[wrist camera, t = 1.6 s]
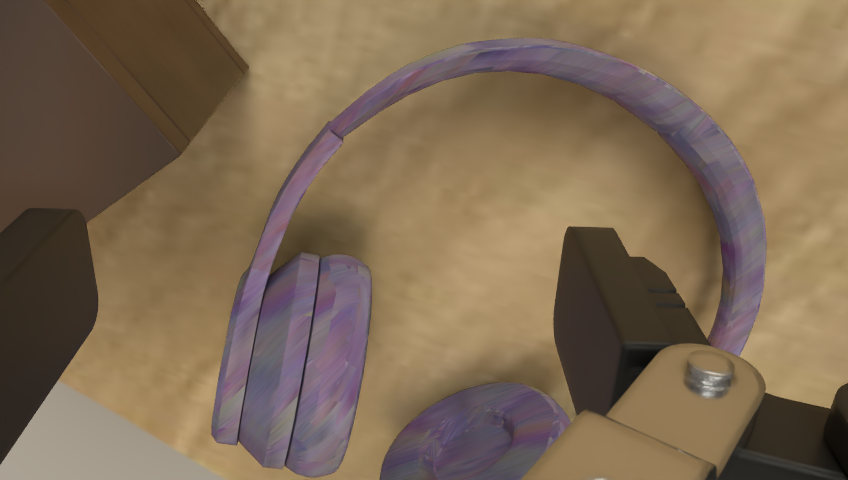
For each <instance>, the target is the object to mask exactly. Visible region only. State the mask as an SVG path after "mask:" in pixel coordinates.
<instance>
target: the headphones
mask: <svg viewBox="0 0 848 480" xmlns="http://www.w3.org/2000/svg"><path fill="white" fill-rule="evenodd" d="M502 71H514V72H525V73H537V74H544V75H547V76H551V77H554V78H558V79H562V80H565V81H569V82H572V83H576V84H580V85H582V86H584V87H586V88H588V89H590V90H592V91H594V92H597V93H599V94H601V95H603V96H605V97H607V98H609V99H612V100H614V101H615V102H617V103H618V104H619V105H621V106H622V107H624V108H625V109H626V110H628V111H629V112H630V113H632V114H633V115H634V116H636V117H637V118H639V119H640V120H641V121H643V122H644V123H645V124H647V125H648V126H650V127H651V128H652V129H654V130H655V131H657V132H658V134H659V135H660V136H661V137H662V138H663V139H664V140H665V141H666V143H667V144H668V145H669V146H670V147H671V148H672V149H673V150H674V151H675V153H676V154H677V155H678V156H679V157H680V158H681V159H682V160H683V161H684V163H685V164H686V166H687V167H688V168H689V170H690V171H691V173H692V174H693V175H694V177H695V178H696V180H697V181H698V182H699V184H700V187H701V189H702V191H703V193H704V195H705V197H706V199H707V201H708V203H709V206H710V208H711V210H712V212H713V214H714V218H715V221H716V225H717V229H718V232H719V236H720V244H721V254H722V264H723V276H722V288H721V299H720V303H719V307H718V311H717V314H716V318H715V322H714V325H713V327H712V330H711V332H710V335H709V338H708V342H709V343H710V345H711V346H712V347H716V348H720V349H723V350H726V351H728V352H730V353H733V354H735V355H737V356H740V354H741V352H742V350H743V348H744V346H745V343H746V341H747V339H748V337H749V335H750V332H751V329H752V327H753V324H754V321H755V319H756V316H757V314H758V311H759V306H760V301H761V297H762V292H763V287H764V275H765V262H766V249H767V242H766V231H765V220H764V215H763V212H762V208H761V205H760V201H759V198H758V194H757V191H756V187H755V184H754V180H753V178H752V176H751V174H750V172H749V170H748V168H747V166H746V164H745V162H744V160H743V158H742V157H741V155H740V154H739V152H738V150H737V149H736V148H735V146H734V145H733V143H732V142H731V140H730V139H729V138H728V136H727V135H726V134H725V133H724V132H723V131H722V130H721V128H720V127H719V126H718V125H717V124H716V123H715V122H714V121H713V120H712V119H711V118H710V116H709V115H708V114H707V113H705V112H704V111H703V110H702V109H701V108H700V107H699V106H698V105H697V104H695V103H694V102H693V101H692V100H690V99H689V98H688V97H687V96H685V95H684V94H683V93H682V92H680V91H679V90H678V89H677V88H675V87H674V86H672V85H670V84H669V83H667V82H666V81H664V80H663V79H661V78H659V77H658V76H656V75H654V74H652V73H650V72H648V71H646V70H645V69H643V68H641V67H638V66H636V65H634V64H631V63H629V62H626V61H624V60H621V59H619V58H616V57H614V56H611V55H609V54H606V53H603V52H600V51H597V50H594V49H590V48H587V47H583V46H580V45H576V44H572V43H567V42H563V41H558V40H553V39H543V38H509V39H497V40H487V41H478V42H471V43H466V44H461V45H457V46H454V47H451V48H447V49H444V50H441V51H438V52H436V53H433V54H431V55H428V56H426V57H423V58H421V59H419V60H417V61H414V62H412V63H410V64H408V65H406V66H404V67H403V68H401V69H399V70H397V71H396V72H394V73H392V74H391V75H389V76H388V77H386V78H385V79H384V80H382V81H381V82H379V83H378V84H376V85H375V86H374V87H372V88H371V89H369V90H368V91H367V92H365V93H364V94H363V95H362V96H361V97H359V98H358V99H357V100H356V101H355V102H354V103H352V104H351V105H350V106H349V107H348V108H346V109H345V110H344V111H343V112H342V113H340V114H339V115H338V116H337V117H336V118H335V119H333V120H332V121H331V122H330V121H329V122H328V123H327V124H326V125H325V127H324V128H323V129H322V130H321V131H320V133H319V134H318V135H317V136H316V138H315V139H314V140H313V141H312V142H311V144H310V145H309V146H308V147H307V149H306V150H305V152H304V153H303V155H302V156H301V157H300V159H299V160H298V162H297V163H296V165H295V166H294V168H293V169H292V171H291V172H290V174H289V175H288V177H287V178H286V180H285V182H284V184H283V186H282V187H281V189H280V191H279V193H278V195H277V197H276V199H275V201H274V203H273V206H272V208H271V210H270V213H269V216H268V219H267V221H266V224H265V227H264V230H263V233H262V235H261V238H260V241H259V244H258V246H257V249H256V252H255V254H254V257H253V260H252V262H251V264H250V266H249V268H248V269H247V270H246V271H245V272H244V273H243V275H242V276H241V279H240V282H239V285H238V288H237V292H236V296H235V300H234V304H233V308H232V312H231V317H230V322H229V327H228V332H227V337H226V342H225V347H224V352H223V357H222V363H221V368H220V373H219V378H218V384H217V391H216V398H215V404H214V411H213V418H212V436H213V438H214V439H215V441H216V442H217V443H222V444H229V445H237V443H238V439H239V442H240V443H241V444H242V445H243V446H244V447H245V448H246V449H247V451H248V452H249V453H250V454H251V455H252V456H253V457H254V458H255V459H256V460H257V461H258V462H259V463H260V464H261V465H262V466H263V467H267V468H276V469H283V467H284V463H285V466H286V467H287V468H289V469H290V470H291V471H293V472H294V473H296V474H299V475H302V476H305V477H320V476H325V475H328V474H331V473H333V472H335V471H336V470H337V469H338V468H339V466H340V464H341V462H342V460H343V457H344V455H345V452H346V449H347V446H348V442H349V439H350V435H351V431H352V427H353V424H354V419H355V414H356V409H357V404H358V399H359V394H360V388H361V383H362V377H363V372H364V366H365V359H366V351H367V343H368V335H369V327H370V318H371V303H372V279H371V273H370V270H369V268H368V266H367V265H365V264H364V263H363V262H361V261H360V260H358V259H356V258H354V257H352V256H349V255H345V254H334V255H329V256H325V257H322V258H321V259H320V260H319V255H317V254H311V253H305V252H300V253H299V254H297V255H296V256H295V257H293V258H292V259H291V260H289V261H288V262H287V263H285V264H284V265H283V266H281V267H280V268H279V269H277V270H276V271H275V272H273V273H272V274H271V275H269V274H270V271H271V268H272V265H273V262H274V260H275V257H276V254H277V252H278V249H279V246H280V243H281V241H282V238H283V236H284V233H285V231H286V229H287V226H288V224H289V222H290V219H291V217H292V215H293V213H294V211H295V209H296V208H297V206H298V204H299V202H300V200H301V199H302V197H303V195H304V193H305V191H306V190H307V188H308V186H309V185H310V183H311V182H312V181H313V179H314V178H315V176H316V175H317V173H318V172H319V171H320V169H321V168H322V167H323V166H324V165H325V163H326V162H327V161H328V160H329V159H330V157H331V156H332V155H333V154H334V153H335V152H336V151H337V149H338V148H339V147H340V146H341V145H342V144H343V137H344V136H346V135H347V134H349V133H350V132H351V131H353V130H354V129H356V128H357V127H359V126H360V125H361V124H363V123H364V122H366V121H367V120H369V119H370V118H371V117H373V116H374V115H376V114H377V113H379V112H380V111H382V110H384V109H385V108H387V107H389V106H390V105H392V104H394V103H395V102H397V101H399V100H401V99H402V98H404V97H406V96H407V95H410V94H412V93H414V92H417V91H419V90H421V89H424V88H426V87H429V86H431V85H433V84H436V83H438V82H440V81H443V80H447V79H451V78H456V77H460V76H464V75H469V74H473V73H485V72H502ZM570 424H571V422H570V420H569V418H568V416H567V415H566V413H565V412H564V410H563V409H562V408H561V407H560V406H559V405H558V403H557V402H556V401H555V400H554V399H552V398H551V397H550V396H548V395H547V394H545V393H544V392H542V391H541V390H539V389H537V388H535V387H532V386H529V385H525V384H520V383H509V382H504V383H490V384H485V385H480V386H475V387H472V388H468V389H465V390H462V391H460V392H457V393H455V394H453V395H450V396H448V397H446V398H444V399H443V400H441V401H439V402H437V403H435V404H434V405H432V406H430V407H429V408H427V409H426V410H425V411H423V412H422V413H421V414H419V415H418V416H417V417H416V418H415V419H413V420H412V421H411V422H410V423H409V424H408V425H407V426H406V427H405V428H404V429H403V430H402V431H401V433H400V434H399V435H398V436H397V438H396V439H395V440H394V442H393V443H392V445H391V446H390V448H389V450H388V452H387V454H386V456H385V458H384V461H383V464H382V468H381V474H380V480H521V479H522V478H523V477H524V475H525V474H526V473H527V472H528V471H529V470H530V469H531V468H532V466H533V465H534V464H535V463H536V462H537V461H538V460H539V459H540V457H541V456H542V455H543V454H544V453H545V452H546V451H547V450H548V448H549V447H550V446H551V445H552V444H553V443H554V442H555V441H556V439H557V438H558V437H559V436H560V435H561V434H562V433H563V432H564V430H565V429H566V428H567V427H568V426H569V425H570Z"/></svg>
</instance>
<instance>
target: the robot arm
mask: <svg viewBox="0 0 848 480" xmlns="http://www.w3.org/2000/svg"><path fill="white" fill-rule="evenodd" d="M97 312H98V291H97V285H96V279H95V273H94V267H93V261H92V255H91V249H90V243H89V237H88V231H87V226H86V221H85V218H84V216H83V214H82V213H81V212H80V211H79V210H77V209H54V208H28V209H26V210H25V211H24V212H23V213H22V214H21V215H20V216H18V217H17V218H16V219H15V220H14V221H13V222H12V223H11V224H10V225H9V226H7V227H6V228H5V229H4V230H3V231H2V232H1V233H0V464H1V463H2V461H3V460H4V458H5V457H6V456H7V454H8V453H9V451H10V450H11V448H12V447H13V445H14V444H15V442H16V441H17V439H18V438H19V436H20V435H21V434H22V432H23V430H24V429H25V427H26V426H27V425H28V423H29V422H30V420H31V419H32V417H33V416H34V414H35V413H36V411H37V410H38V408H39V407H40V405H41V404H42V403H43V401H44V400H45V398H46V397H47V395H48V394H49V392H50V391H51V389H52V388H53V386H54V385H55V384H56V382H57V381H58V379H59V378H60V376H61V375H62V373H63V372H64V370H65V369H66V367H67V366H68V364H69V363H70V361H71V360H72V359H73V357H74V356H75V354H76V353H77V351H78V350H79V348H80V347H81V345H82V344H83V342H84V341H85V339H86V338H87V336H88V335H89V334H90V332H91V330H92V329H93V326H94V324H95V321H96V317H97ZM554 338H555V344H556V347H557V351H558V354H559V357H560V361H561V364H562V367H563V371H564V374H565V377H566V381H567V384H568V387H569V391H570V394H571V397H572V401H573V404H574V408H575V411H576V414H577V417H576V418H575V419H574V420H573V421H572V423H571V424H570V425H569V426H568V427H567V428H566V429H565V430H564V432H563V433H562V434H561V435H560V436H559V437H558V438H557V439H556V441H555V442H554V443H553V444H552V445H551V446H550V447H549V448H548V450H547V451H546V452H545V453H544V454H543V455H542V456H541V457H540V459H539V460H538V461H537V462H536V463H535V464H534V465H533V466H532V468H531V469H530V470H529V471H528V472H527V473H526V474H525V475H524V477H523V478H522V479H521V480H848V383H847V384H845V385H843V386H841V387H840V388H839V389H838V391H837V393H836V395H835V398H834V401H833V404H832V406H831V409H829V408H824V407H820V406H815V405H811V404H806V403H802V402H797V401H793V400H788V399H784V398H780V397H777V396H774V395H771V394H768V393H765V390H766V386H765V382H764V379H763V377H762V376H761V374H760V373H759V372H758V371H757V369H756V368H755V367H753V366H752V365H751V364H750V363H748V362H747V361H745V360H744V359H742V358H741V357H739V356H737V355H735V354H733V353H730V352H728V351H726V350H723V349H720V348H716V347H712V346H711V345H710V343H709V342H708V340H707V339H706V337H705V335H704V334H703V332H702V331H701V329H700V327H699V326H698V324H697V322H696V321H695V319H694V318H693V316H692V314H691V313H690V311H689V310H688V308H685V303H684V301H683V300H682V298H681V297H680V295H679V293H676V288H675V287H674V285H673V284H672V282H671V280H670V279H669V277H668V276H667V274H666V272H664V271H663V270H661V269H660V268H658V267H657V266H656V265H654V264H653V263H651V262H650V261H649V260H647V259H646V258H644V257H629V255H628V253H627V251H626V249H625V247H624V246H623V244H622V242H621V240H620V238H619V237H618V235H617V233H616V231H615V230H614V229H613V228H599V227H568V228H567V230H566V233H565V236H564V241H563V248H562V256H561V263H560V270H559V277H558V284H557V292H556V299H555V306H554Z"/></svg>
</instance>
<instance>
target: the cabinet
mask: <svg viewBox="0 0 848 480" xmlns="http://www.w3.org/2000/svg"><path fill="white" fill-rule="evenodd" d="M248 69H249V67H248V66H247V64H246V63H245V62H244V61H243V59H242V58H241V57H240V56H239V54H238V53H237V52H236V51H235V49H234V48H233V47H232V46H231V44H230V43H229V42H228V41H227V39H226V38H225V37H224V36H223V34H222V33H221V32H220V31H219V29H218V28H217V27H216V26H215V24H214V23H213V22H212V21H211V19H210V18H209V17H208V16H207V14H206V13H205V12H204V11H203V9H202V8H201V7H200V6H199V4H198V3H197V2H196V1H195V0H0V233H1V232H2V231H3V230H4V229H5V228H6V227H7V226H9V225H10V224H11V223H12V222H13V221H14V220H15V219H16V218H17V217H18V216H20V215H21V214H22V213H23V212H24V211H25V210H26V209H28V208H54V209H77V210H79V211H80V212H81V213H82V214H83V216H84V218H85V221H86V223H87V222H89V221H90V220H91V219H93V218H94V217H96V216H97V215H98V214H100V213H101V212H102V211H104V210H105V209H107V208H108V207H109V206H111V205H112V204H114V203H115V202H116V201H118V200H119V199H120V198H122V197H123V196H125V195H126V194H127V193H129V192H130V191H132V190H133V189H134V188H136V187H137V186H139V185H140V184H141V183H143V182H144V181H145V180H147V179H148V178H150V177H151V176H152V175H154V174H155V173H157V172H158V171H159V170H161V169H162V168H163V167H165V166H166V165H168V164H169V163H170V162H172V161H173V160H175V159H176V158H177V157H179V156H180V155H181V154H182V153H183V151H184V150H185V149H186V148H187V146H188V145H189V144H190V142H191V141H192V140H193V138H194V137H195V136H196V135H197V133H198V132H199V131H200V130H201V128H202V127H203V126H204V125H205V123H206V122H207V121H208V120H209V118H210V117H211V116H212V115H213V113H214V112H215V111H216V110H217V108H218V107H219V106H220V105H221V103H222V102H223V101H224V100H225V98H226V97H227V96H228V95H229V93H230V92H231V91H232V90H233V88H234V87H235V86H236V85H237V83H238V82H239V81H240V80H241V78H242V77H243V76H244V75H245V73H246V72H247V71H248Z"/></svg>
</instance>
